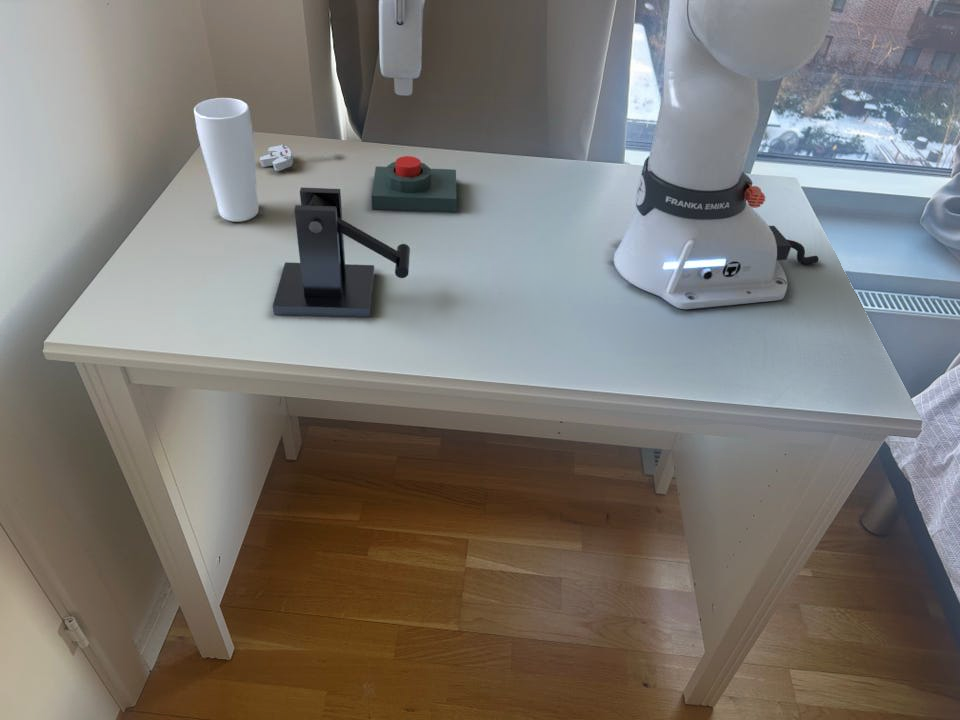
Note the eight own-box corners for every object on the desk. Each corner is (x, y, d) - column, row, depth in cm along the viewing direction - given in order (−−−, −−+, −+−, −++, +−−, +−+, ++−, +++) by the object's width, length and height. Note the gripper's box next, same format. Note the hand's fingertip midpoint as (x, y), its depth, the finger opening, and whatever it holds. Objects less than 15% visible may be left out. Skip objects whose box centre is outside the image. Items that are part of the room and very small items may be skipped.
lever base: (374, 273, 94) (371, 181, 85) (369, 317, 87) (364, 221, 78) (286, 270, 93) (273, 177, 84) (273, 314, 86) (259, 217, 78)
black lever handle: (403, 259, 90) (414, 245, 89) (401, 282, 86) (413, 268, 85) (305, 203, 85) (315, 188, 83) (299, 226, 81) (309, 210, 80)
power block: (455, 182, 113) (456, 158, 111) (455, 212, 106) (457, 187, 104) (376, 179, 112) (375, 154, 110) (371, 209, 106) (370, 184, 103)
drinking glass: (252, 229, 100) (234, 122, 90) (204, 221, 100) (182, 114, 90) (272, 205, 105) (258, 101, 95) (227, 198, 105) (208, 94, 96)
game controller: (254, 161, 114) (252, 144, 113) (320, 144, 120) (319, 129, 119) (271, 175, 111) (269, 159, 109) (338, 158, 117) (337, 142, 115)
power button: (420, 167, 108) (421, 156, 107) (420, 179, 106) (420, 168, 105) (396, 166, 108) (396, 155, 107) (395, 178, 105) (394, 167, 104)
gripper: (438, -30, 60) (434, 134, 69) (437, -83, 75) (434, 57, 84) (359, -34, 59) (366, 131, 68) (374, -86, 75) (378, 54, 84)
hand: (404, 90), depth 76 cm, fingers closed
